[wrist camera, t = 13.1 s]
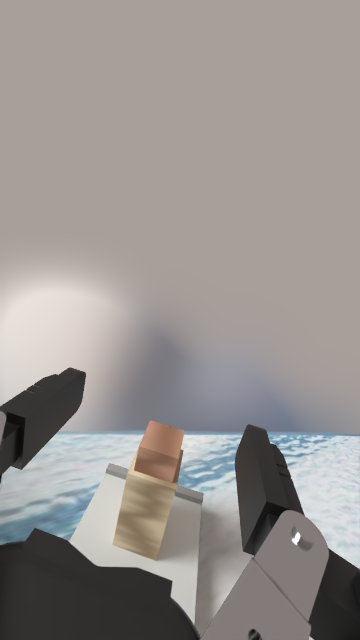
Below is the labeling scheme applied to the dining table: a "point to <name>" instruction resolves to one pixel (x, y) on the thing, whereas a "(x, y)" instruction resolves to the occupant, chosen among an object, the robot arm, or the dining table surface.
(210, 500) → the dining table surface
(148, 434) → the beige tall block
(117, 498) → the dock
